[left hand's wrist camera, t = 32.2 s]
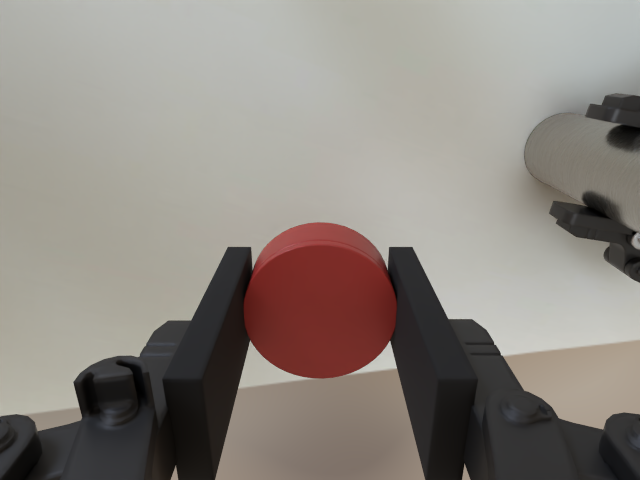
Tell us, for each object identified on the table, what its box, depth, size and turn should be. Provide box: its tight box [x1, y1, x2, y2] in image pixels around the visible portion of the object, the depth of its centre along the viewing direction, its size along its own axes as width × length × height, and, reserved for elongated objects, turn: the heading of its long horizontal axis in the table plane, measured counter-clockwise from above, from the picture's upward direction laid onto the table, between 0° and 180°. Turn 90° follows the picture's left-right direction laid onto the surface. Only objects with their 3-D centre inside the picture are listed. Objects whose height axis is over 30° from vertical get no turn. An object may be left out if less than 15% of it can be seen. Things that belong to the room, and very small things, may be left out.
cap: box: [243, 223, 397, 378], centre depth 14 cm, size 5×5×2 cm
